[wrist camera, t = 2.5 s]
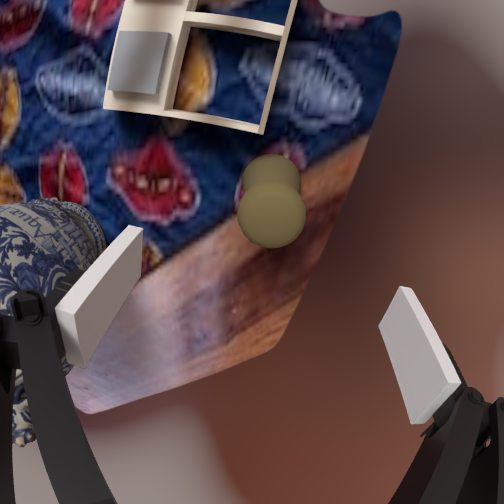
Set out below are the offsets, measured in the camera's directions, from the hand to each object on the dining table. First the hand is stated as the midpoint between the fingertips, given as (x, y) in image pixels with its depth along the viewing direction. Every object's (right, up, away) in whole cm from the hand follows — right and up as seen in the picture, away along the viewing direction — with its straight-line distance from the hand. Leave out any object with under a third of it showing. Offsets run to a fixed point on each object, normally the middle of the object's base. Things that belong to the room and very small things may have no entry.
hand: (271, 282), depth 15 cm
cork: (+1, +9, +17) cm, 19 cm away
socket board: (-5, +24, +10) cm, 26 cm away
